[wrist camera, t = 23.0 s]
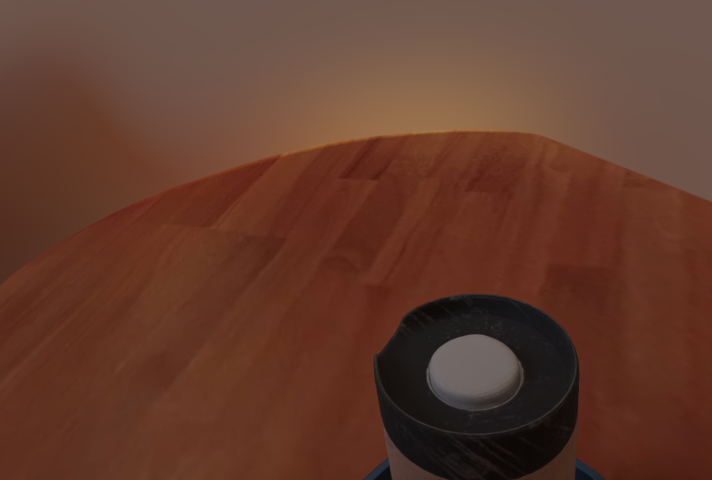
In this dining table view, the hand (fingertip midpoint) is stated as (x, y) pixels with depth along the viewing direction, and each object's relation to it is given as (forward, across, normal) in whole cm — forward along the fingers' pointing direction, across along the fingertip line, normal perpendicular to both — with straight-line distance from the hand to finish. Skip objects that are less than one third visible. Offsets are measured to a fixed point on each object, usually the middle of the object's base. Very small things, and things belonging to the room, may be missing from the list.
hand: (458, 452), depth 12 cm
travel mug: (+12, +3, -26) cm, 29 cm away
